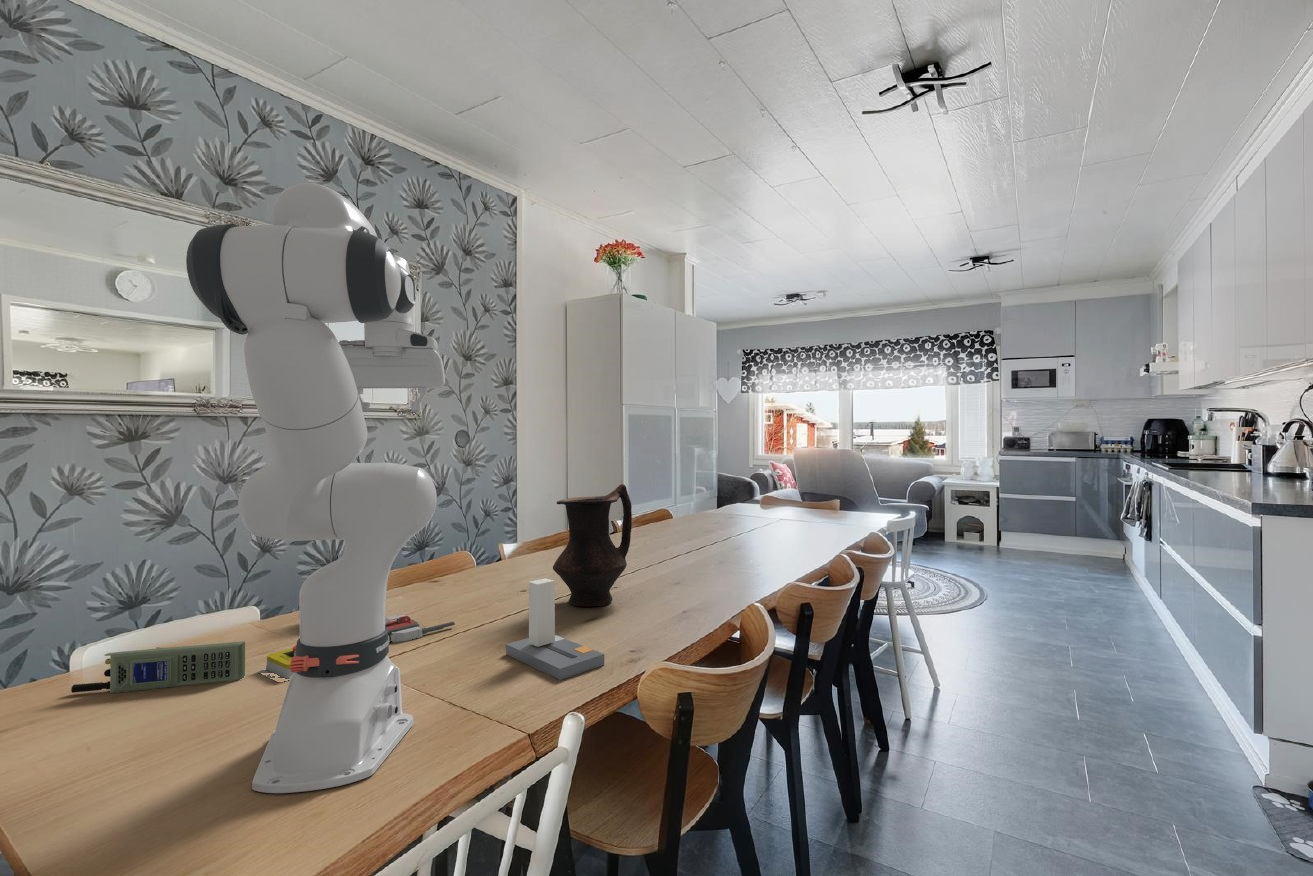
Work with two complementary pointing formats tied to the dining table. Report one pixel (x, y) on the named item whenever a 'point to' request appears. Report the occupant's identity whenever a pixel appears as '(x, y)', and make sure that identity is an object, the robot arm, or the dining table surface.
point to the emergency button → (279, 663)
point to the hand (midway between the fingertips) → (390, 411)
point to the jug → (593, 548)
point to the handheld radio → (171, 667)
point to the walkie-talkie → (408, 628)
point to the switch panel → (556, 657)
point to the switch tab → (541, 612)
